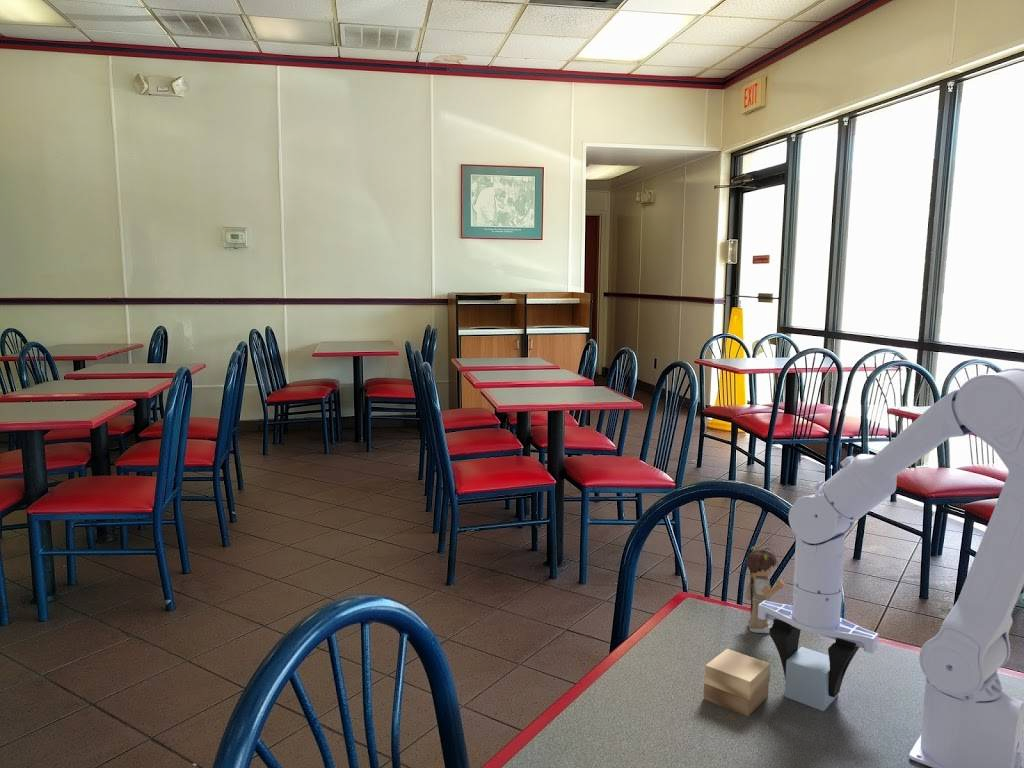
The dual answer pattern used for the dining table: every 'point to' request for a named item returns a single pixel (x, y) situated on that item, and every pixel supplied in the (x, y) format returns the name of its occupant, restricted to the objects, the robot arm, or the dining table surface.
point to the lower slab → (735, 699)
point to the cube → (808, 678)
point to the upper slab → (737, 674)
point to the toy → (760, 586)
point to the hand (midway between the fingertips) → (811, 685)
